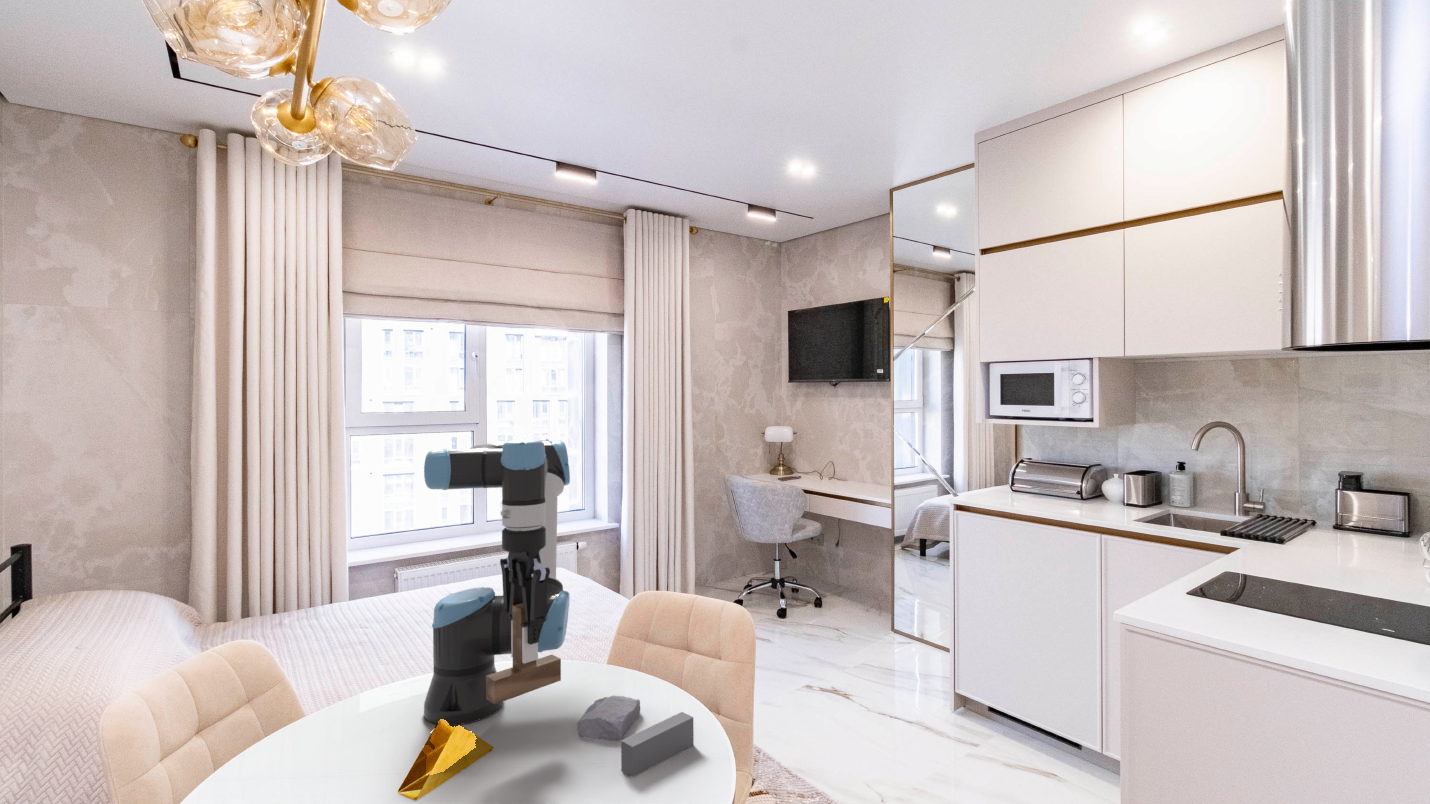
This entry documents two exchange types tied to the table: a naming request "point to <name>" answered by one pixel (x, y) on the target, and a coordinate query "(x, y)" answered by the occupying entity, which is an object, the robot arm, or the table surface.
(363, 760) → the table surface
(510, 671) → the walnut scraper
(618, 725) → the stone block
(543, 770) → the table surface
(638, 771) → the block
